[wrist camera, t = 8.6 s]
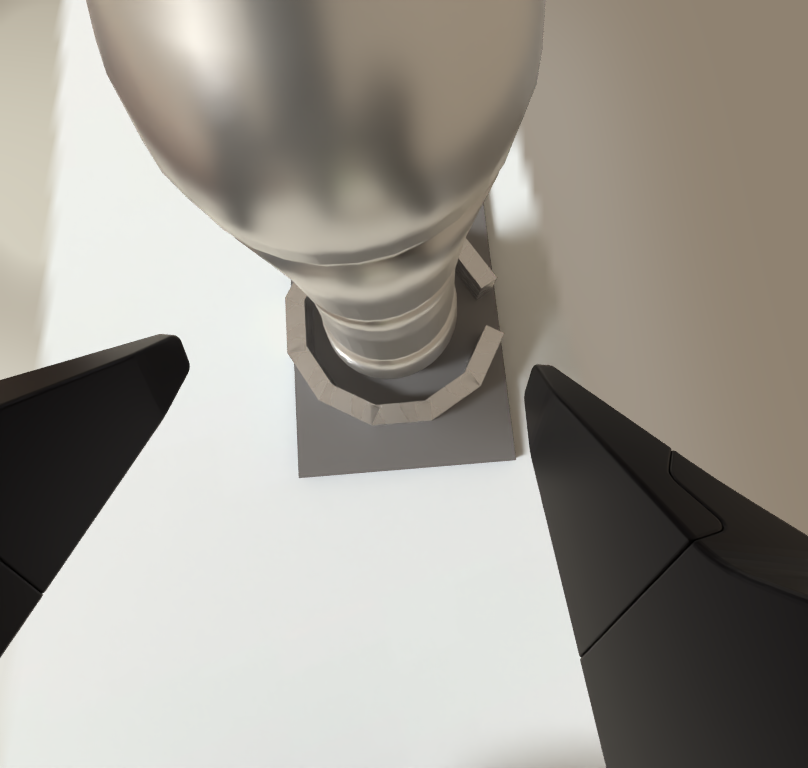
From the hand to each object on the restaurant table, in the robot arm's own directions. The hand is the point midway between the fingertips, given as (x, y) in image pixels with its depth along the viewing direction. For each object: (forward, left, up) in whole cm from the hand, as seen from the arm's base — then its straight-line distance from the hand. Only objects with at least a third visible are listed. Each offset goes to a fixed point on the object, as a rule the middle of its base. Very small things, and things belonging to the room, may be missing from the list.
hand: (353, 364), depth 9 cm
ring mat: (+4, -1, -11) cm, 12 cm away
